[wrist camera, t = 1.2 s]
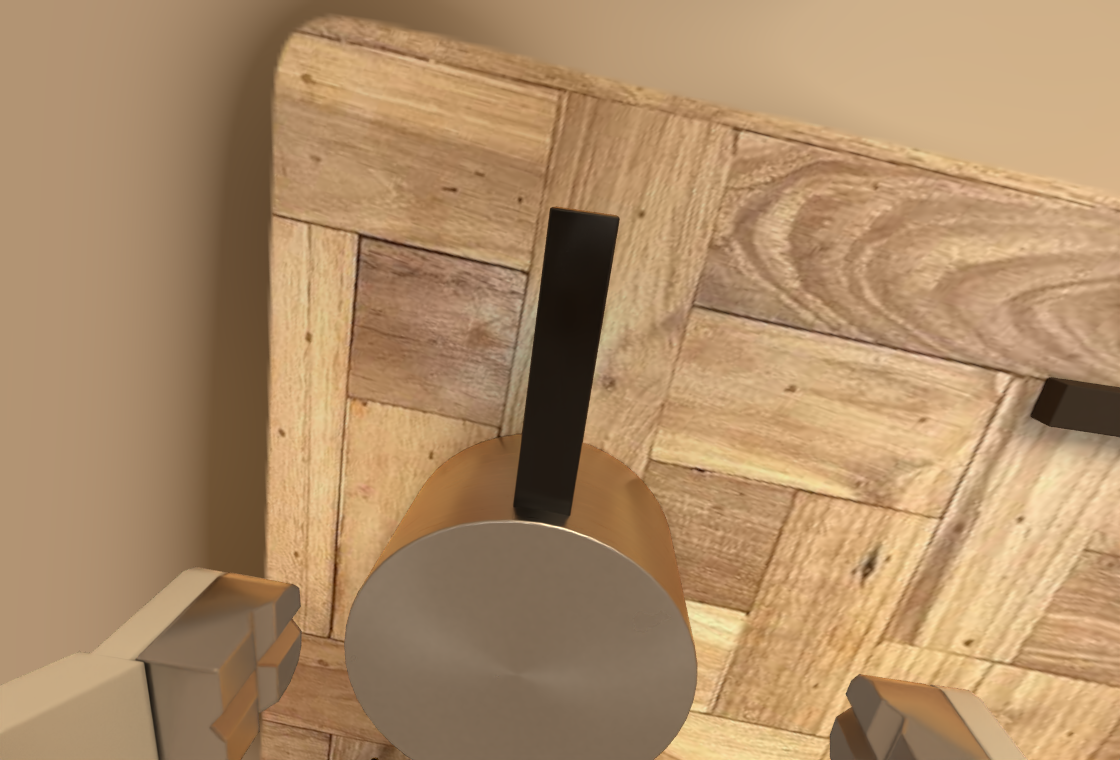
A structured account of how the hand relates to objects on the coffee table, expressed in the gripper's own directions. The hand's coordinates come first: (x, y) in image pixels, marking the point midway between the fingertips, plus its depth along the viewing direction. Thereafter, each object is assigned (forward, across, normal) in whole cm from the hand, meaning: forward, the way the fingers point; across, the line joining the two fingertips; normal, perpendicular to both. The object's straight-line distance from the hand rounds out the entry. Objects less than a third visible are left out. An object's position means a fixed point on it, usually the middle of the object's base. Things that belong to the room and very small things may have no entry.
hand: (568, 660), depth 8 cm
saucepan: (+16, +1, +5) cm, 17 cm away
